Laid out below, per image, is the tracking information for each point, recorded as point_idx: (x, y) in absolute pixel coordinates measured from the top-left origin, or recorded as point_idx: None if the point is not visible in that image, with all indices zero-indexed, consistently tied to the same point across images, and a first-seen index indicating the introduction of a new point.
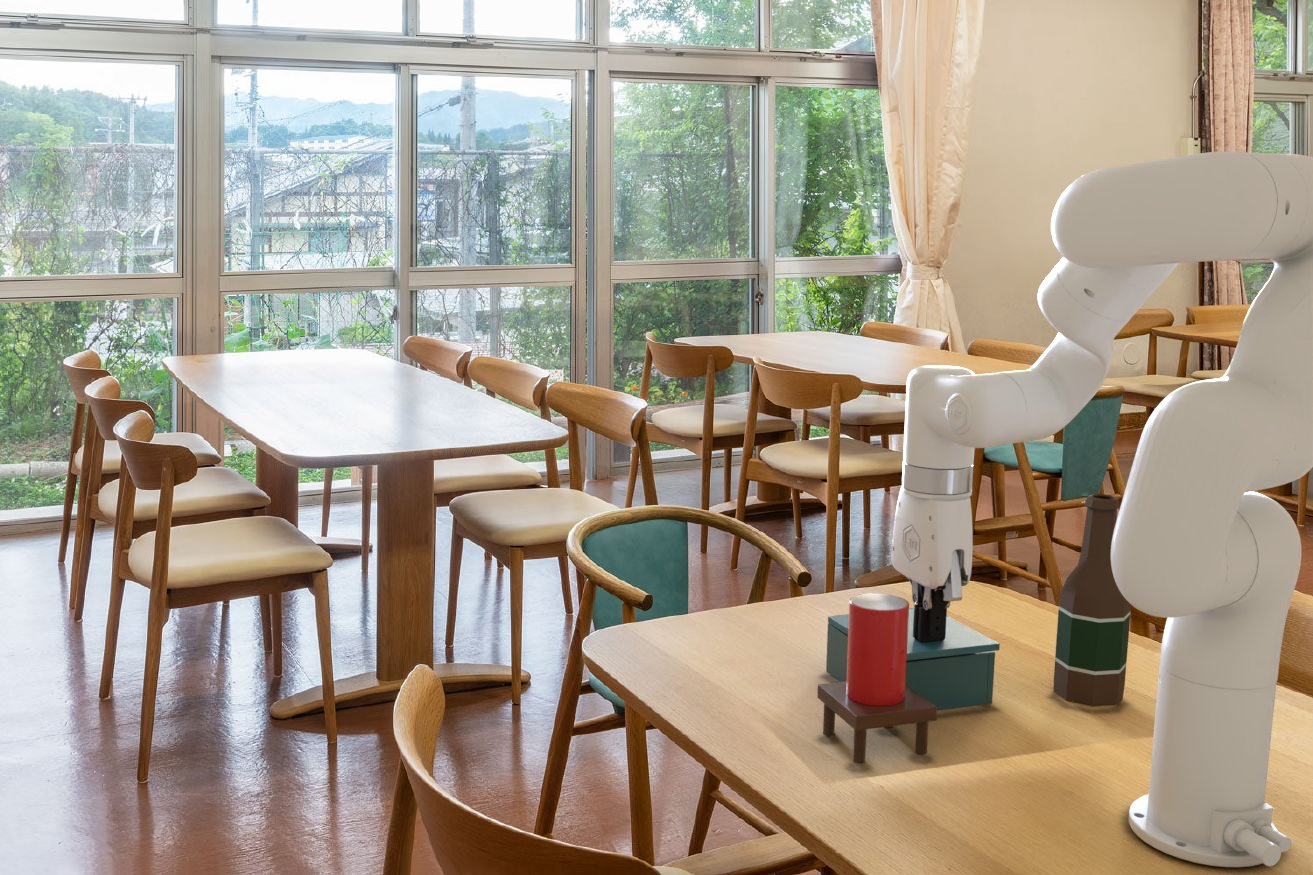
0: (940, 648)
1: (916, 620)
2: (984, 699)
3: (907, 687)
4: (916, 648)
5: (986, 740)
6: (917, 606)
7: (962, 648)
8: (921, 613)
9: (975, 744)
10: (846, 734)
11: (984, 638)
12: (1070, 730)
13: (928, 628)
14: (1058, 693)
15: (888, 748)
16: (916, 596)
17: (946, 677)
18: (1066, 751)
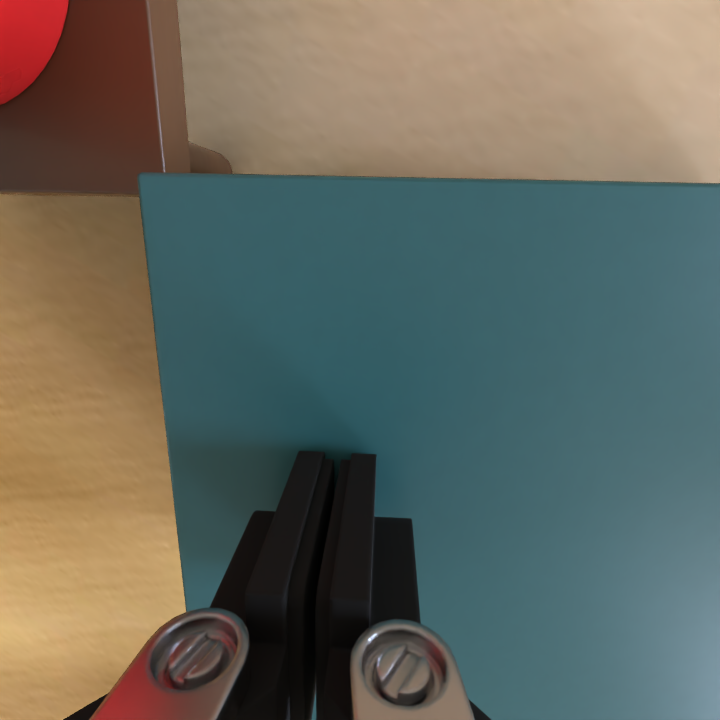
0: (195, 492)
1: (342, 518)
2: None
3: (9, 176)
4: (225, 384)
5: (114, 413)
6: (329, 600)
7: (185, 580)
8: (258, 564)
9: (94, 373)
10: (234, 19)
11: None
12: (136, 614)
13: (265, 530)
14: None
15: None
16: (395, 690)
17: None
18: (28, 542)
